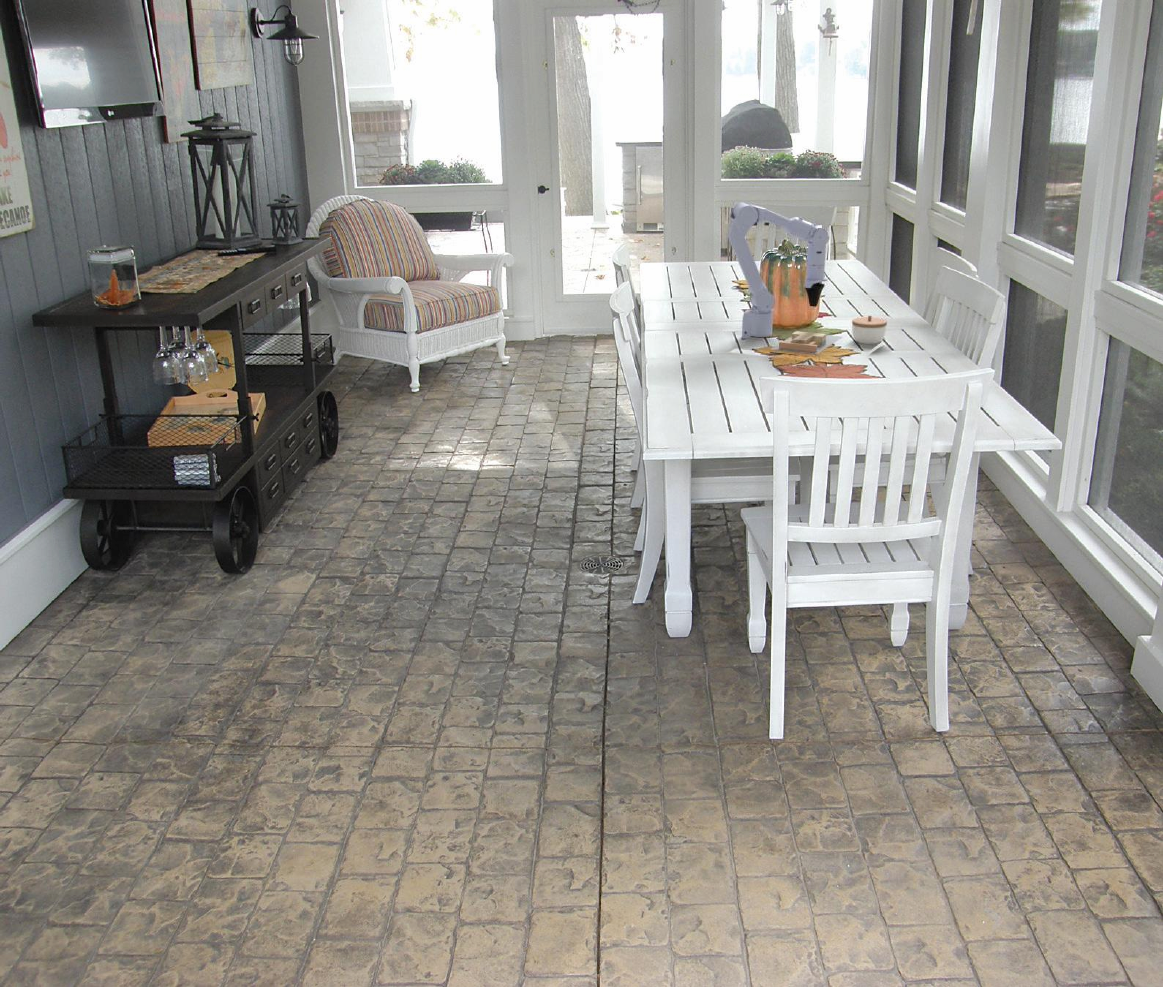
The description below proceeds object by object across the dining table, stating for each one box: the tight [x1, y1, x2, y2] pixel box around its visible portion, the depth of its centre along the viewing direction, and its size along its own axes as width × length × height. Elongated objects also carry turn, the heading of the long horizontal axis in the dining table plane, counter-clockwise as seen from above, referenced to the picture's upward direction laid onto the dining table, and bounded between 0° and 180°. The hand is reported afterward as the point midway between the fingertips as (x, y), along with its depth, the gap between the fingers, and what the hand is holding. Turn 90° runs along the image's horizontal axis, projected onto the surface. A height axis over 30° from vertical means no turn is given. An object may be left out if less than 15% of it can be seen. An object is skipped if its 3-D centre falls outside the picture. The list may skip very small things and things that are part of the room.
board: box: [769, 334, 843, 356], centre depth 353 cm, size 15×26×3 cm, turn 150°
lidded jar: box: [851, 314, 888, 347], centre depth 354 cm, size 11×11×9 cm
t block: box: [791, 330, 827, 346], centre depth 350 cm, size 10×11×3 cm
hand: (813, 306), depth 364 cm, fingers closed
